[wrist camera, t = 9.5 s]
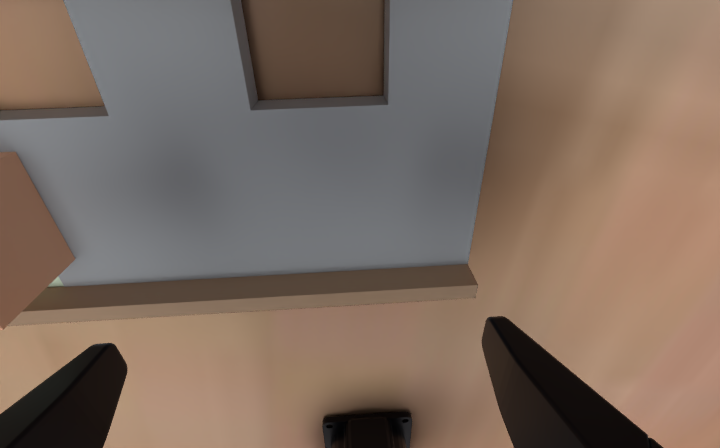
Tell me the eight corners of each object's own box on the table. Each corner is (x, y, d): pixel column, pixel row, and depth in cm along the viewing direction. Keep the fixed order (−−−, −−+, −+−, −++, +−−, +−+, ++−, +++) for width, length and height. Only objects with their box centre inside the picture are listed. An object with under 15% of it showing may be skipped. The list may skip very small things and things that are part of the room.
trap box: (456, 258, 19) (475, 297, 17) (-52, 286, 18) (-114, 333, 16) (502, -47, 12) (546, -59, 10) (-315, -27, 11) (-505, -34, 9)
